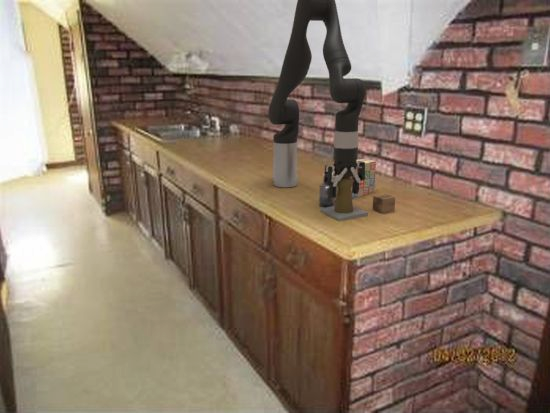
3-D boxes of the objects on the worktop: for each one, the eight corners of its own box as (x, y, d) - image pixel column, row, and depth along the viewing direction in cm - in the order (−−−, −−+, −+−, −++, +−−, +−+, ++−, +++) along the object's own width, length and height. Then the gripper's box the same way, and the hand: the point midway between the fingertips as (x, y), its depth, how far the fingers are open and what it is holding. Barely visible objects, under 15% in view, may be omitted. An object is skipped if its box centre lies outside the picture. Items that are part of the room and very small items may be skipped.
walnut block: (372, 210, 156) (373, 195, 155) (384, 207, 159) (385, 193, 157) (382, 214, 152) (383, 199, 151) (394, 211, 155) (395, 197, 153)
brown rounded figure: (356, 211, 151) (358, 178, 148) (339, 214, 149) (340, 180, 146) (347, 206, 157) (348, 174, 153) (331, 208, 155) (331, 176, 151)
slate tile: (320, 211, 155) (320, 208, 155) (347, 206, 160) (347, 203, 160) (339, 221, 146) (339, 218, 146) (368, 215, 151) (368, 212, 151)
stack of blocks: (333, 203, 164) (334, 169, 160) (321, 199, 168) (321, 166, 165) (374, 192, 176) (376, 160, 173) (362, 189, 181) (363, 157, 177)
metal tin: (316, 204, 163) (316, 185, 161) (328, 202, 165) (329, 183, 163) (324, 208, 158) (324, 188, 156) (336, 206, 161) (337, 186, 158)
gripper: (357, 141, 153) (355, 189, 158) (320, 145, 146) (319, 195, 151) (372, 144, 146) (369, 195, 151) (333, 149, 140) (332, 201, 145)
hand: (344, 195), depth 151 cm, fingers open, 8 cm apart
